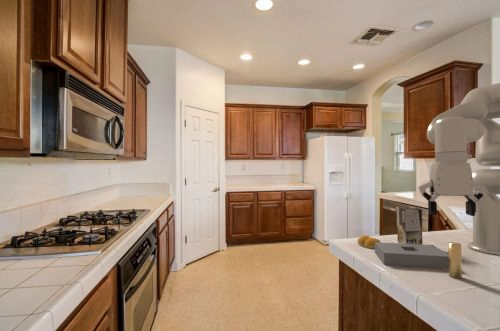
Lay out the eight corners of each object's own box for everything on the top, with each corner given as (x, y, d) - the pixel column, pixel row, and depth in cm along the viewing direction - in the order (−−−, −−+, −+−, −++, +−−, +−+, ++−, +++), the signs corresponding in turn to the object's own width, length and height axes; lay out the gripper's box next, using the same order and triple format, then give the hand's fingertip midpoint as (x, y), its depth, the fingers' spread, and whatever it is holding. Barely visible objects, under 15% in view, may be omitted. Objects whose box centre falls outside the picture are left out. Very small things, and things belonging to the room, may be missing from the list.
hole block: (433, 255, 92) (433, 245, 92) (451, 269, 80) (451, 256, 80) (374, 252, 96) (374, 242, 96) (384, 264, 85) (383, 252, 85)
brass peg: (458, 275, 76) (457, 242, 76) (464, 279, 73) (463, 245, 73) (446, 274, 77) (446, 241, 77) (452, 278, 74) (451, 244, 74)
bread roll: (374, 250, 99) (374, 240, 99) (354, 244, 107) (354, 235, 107) (385, 246, 104) (385, 237, 104) (365, 241, 111) (365, 232, 111)
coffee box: (423, 250, 98) (422, 209, 98) (405, 249, 100) (404, 209, 100) (413, 242, 107) (412, 205, 107) (396, 242, 109) (396, 205, 109)
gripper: (476, 158, 77) (477, 213, 77) (413, 159, 81) (414, 211, 81) (493, 157, 70) (494, 218, 70) (423, 158, 74) (424, 216, 74)
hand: (451, 214), depth 75 cm, fingers open, 9 cm apart
